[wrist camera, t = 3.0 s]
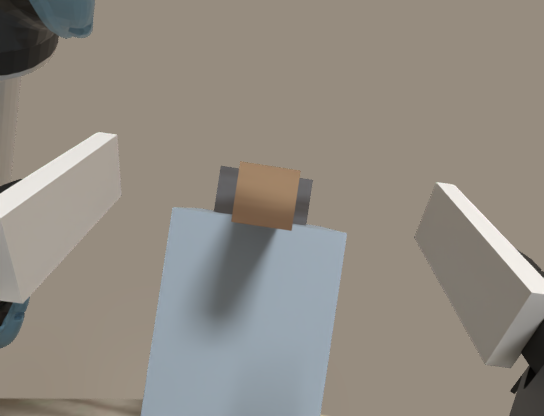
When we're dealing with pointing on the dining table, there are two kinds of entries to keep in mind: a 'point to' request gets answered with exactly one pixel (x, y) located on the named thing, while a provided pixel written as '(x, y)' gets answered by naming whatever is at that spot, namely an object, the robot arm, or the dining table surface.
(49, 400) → the dining table surface
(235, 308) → the pedestal
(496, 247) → the robot arm
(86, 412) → the dining table surface
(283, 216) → the mallet
